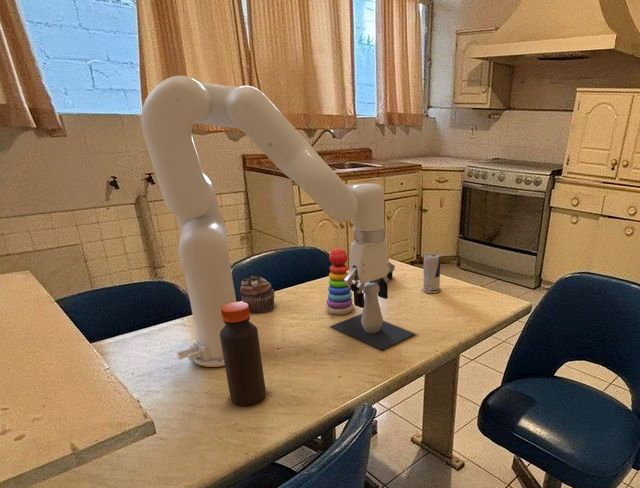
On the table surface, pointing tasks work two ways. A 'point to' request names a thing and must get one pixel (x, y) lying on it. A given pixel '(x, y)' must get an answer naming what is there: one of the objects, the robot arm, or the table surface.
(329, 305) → the stacking toy
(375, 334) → the mat
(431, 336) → the table surface
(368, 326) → the salt shaker
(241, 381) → the bottle
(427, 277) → the energy drink
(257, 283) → the cupcake
